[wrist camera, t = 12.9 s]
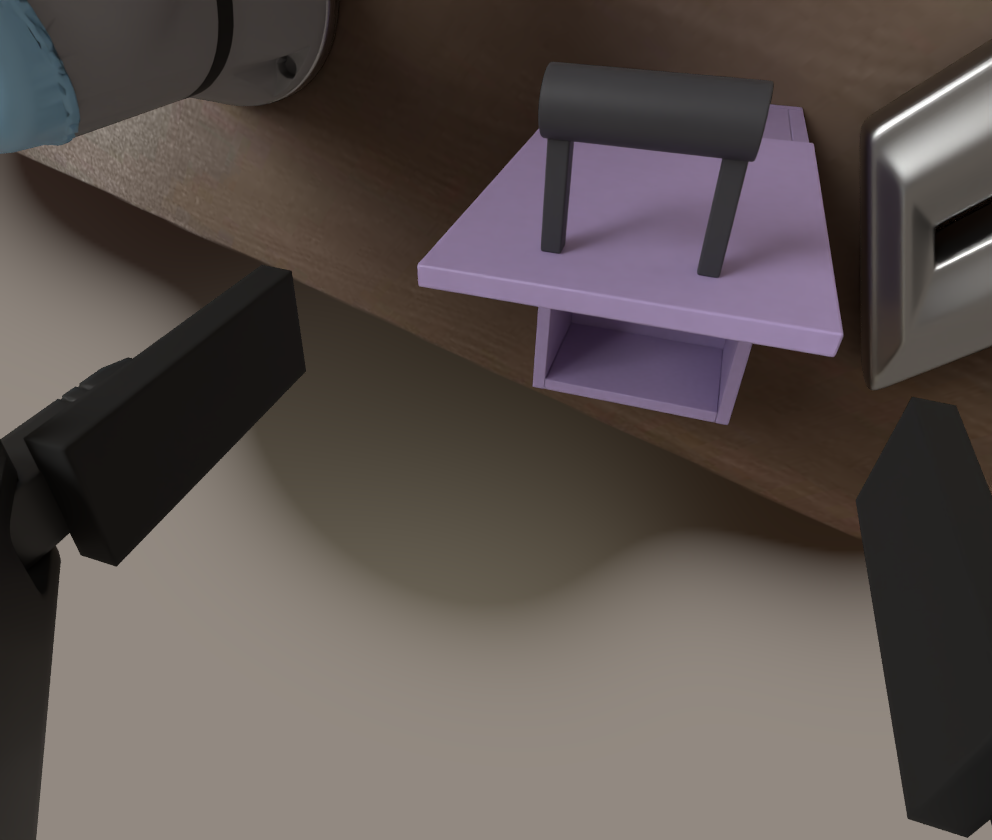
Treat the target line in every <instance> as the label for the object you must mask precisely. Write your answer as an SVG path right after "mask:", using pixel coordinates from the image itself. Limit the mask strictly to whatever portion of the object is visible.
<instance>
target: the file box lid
mask: <svg viewBox="0 0 992 840" xmlns="http://www.w3.org/2000/svg"><path fill="white" fill-rule="evenodd" d="M773 86H774V84H773V82H772V81H767V80H756V79H745V78H733V77H722V76H710V75H699V74H688V73H676V72H665V71H653V70H642V69H631V68H619V67H608V66H596V65H585V64H574V63H562V62H550V63H549V64H548V66H547V68H546V71H545V73H544V77H543V81H542V85H541V91H540V98H539V109H538V123H539V129H538V130H537V131H536V132H535V133H534V135H533V136H532V137H531V138H530V139H529V140H528V141H527V142H526V144H525V145H524V146H523V147H522V148H521V149H520V150H519V151H518V152H517V154H516V155H515V156H514V157H513V158H512V159H511V160H510V161H509V163H508V164H507V165H506V166H505V167H504V168H503V169H502V170H501V172H500V173H499V174H498V175H497V176H496V177H495V178H494V179H493V180H492V182H491V183H490V184H489V185H488V186H487V187H486V188H485V189H484V191H483V192H482V193H481V194H480V195H479V196H478V197H477V198H476V200H475V201H474V202H473V203H472V204H471V205H470V206H469V207H468V209H467V210H466V211H465V212H464V213H463V214H462V215H461V216H460V217H459V219H458V220H457V221H456V222H455V223H454V224H453V225H452V226H451V228H450V229H449V230H448V231H447V232H446V233H445V234H444V235H443V237H442V238H441V239H440V240H439V241H438V242H437V243H436V244H435V246H434V247H433V248H432V249H431V250H430V251H429V252H428V253H427V254H426V256H425V257H424V258H423V259H422V260H421V261H420V262H419V263H418V265H417V269H418V284H419V286H421V287H427V288H432V289H438V290H444V291H450V292H456V293H461V294H467V295H473V296H479V297H485V298H491V299H496V300H502V301H508V302H514V303H520V304H526V305H531V306H537V307H543V308H549V309H555V310H561V311H566V312H572V313H578V314H584V315H590V316H595V317H601V318H607V319H613V320H619V321H625V322H630V323H636V324H642V325H648V326H654V327H660V328H665V329H671V330H677V331H683V332H689V333H695V334H700V335H706V336H712V337H718V338H724V339H729V340H735V341H741V342H747V343H753V344H759V345H764V346H770V347H776V348H782V349H788V350H794V351H799V352H805V353H811V354H817V355H823V356H829V357H834V356H835V355H836V353H837V351H838V348H839V346H840V343H841V341H842V338H843V336H844V335H843V328H842V322H841V316H840V309H839V303H838V296H837V290H836V283H835V277H834V270H833V264H832V258H831V251H830V245H829V238H828V232H827V225H826V219H825V213H824V206H823V200H822V193H821V187H820V180H819V174H818V168H817V161H816V155H815V148H814V144H813V143H806V142H797V141H787V140H778V139H768V138H762V137H763V133H764V129H765V125H766V121H767V117H768V112H769V108H770V103H771V98H772V93H773Z"/></svg>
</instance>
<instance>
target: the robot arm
mask: <svg viewBox="0 0 992 840" xmlns="http://www.w3.org/2000/svg"><path fill="white" fill-rule="evenodd" d="M338 11H339V0H0V154H1V153H13V152H17V151H21V150H25V149H29V148H33V147H37V146H41V145H57V146H58V145H63V144H65V143H68V142H70V141H71V140H72V138H74V137H77V136H80V135H83V134H86V133H89V132H91V131H94V130H97V129H100V128H103V127H106V126H108V125H111V124H114V123H117V122H120V121H123V120H125V119H128V118H131V117H134V116H137V115H140V114H142V113H145V112H148V111H151V110H154V109H157V108H159V107H162V106H165V105H168V104H171V103H174V102H177V101H180V100H182V99H186V98H189V97H190V98H196V99H202V100H207V101H213V102H218V103H224V104H229V105H236V106H259V105H265V104H270V103H272V102H275V101H278V100H281V99H283V98H286V97H288V96H290V95H292V94H294V93H296V92H298V91H299V90H301V89H302V88H304V87H305V86H306V85H307V84H308V83H309V82H310V81H311V80H312V79H313V78H314V77H315V76H316V74H317V73H318V72H319V70H320V69H321V67H322V66H323V64H324V62H325V60H326V58H327V56H328V54H329V51H330V49H331V46H332V43H333V40H334V36H335V32H336V26H337V21H338ZM305 372H306V368H305V361H304V354H303V347H302V340H301V333H300V326H299V319H298V313H297V306H296V298H295V291H294V285H293V277H292V271H290V270H285V269H280V268H275V267H270V266H265V265H261V266H260V267H258V268H257V269H255V270H254V271H253V272H251V273H250V274H249V275H247V276H246V277H244V278H243V279H242V280H240V281H239V282H238V283H236V284H235V285H233V286H232V287H231V288H229V289H228V290H227V291H225V292H224V293H222V294H221V295H220V296H218V297H217V298H215V299H214V300H213V301H211V302H210V303H209V304H207V305H206V306H205V307H203V308H202V309H200V310H199V311H198V312H196V313H195V314H194V315H192V316H191V317H189V318H188V319H187V320H185V321H184V322H182V323H181V324H180V325H178V326H177V327H176V328H174V329H173V330H172V331H170V332H169V333H167V334H166V335H165V336H163V337H162V338H160V339H159V340H158V341H156V342H155V343H154V344H152V345H151V346H149V347H148V348H147V349H145V350H144V351H143V352H141V353H140V354H138V355H137V356H136V357H134V358H133V359H132V358H126V359H123V360H121V361H118V362H116V363H113V364H111V365H108V366H106V367H103V368H101V369H100V370H98V371H97V372H95V373H94V374H92V375H91V376H90V377H88V378H87V379H85V380H84V381H82V382H81V383H80V385H79V387H74V388H73V389H71V390H70V391H68V392H67V393H65V394H64V395H63V396H62V399H61V400H60V399H57V400H56V401H54V402H53V403H51V404H50V405H48V406H47V407H46V408H44V409H43V410H41V411H40V412H39V413H37V414H36V415H34V416H33V417H32V418H30V419H29V420H27V421H26V422H24V423H23V424H22V425H20V426H19V427H17V428H16V429H15V430H13V431H12V432H10V433H9V434H7V435H6V436H5V437H3V438H2V439H0V840H36V834H37V823H38V811H39V800H40V789H41V777H42V766H43V754H44V743H45V732H46V720H47V710H48V698H49V687H50V686H49V685H50V676H51V665H52V653H53V642H54V631H55V619H56V608H57V596H58V585H59V574H60V563H61V560H60V555H59V551H58V549H57V547H56V545H57V544H58V543H59V542H60V541H61V540H62V539H63V538H64V537H65V536H66V535H68V534H69V533H70V534H71V536H72V538H73V540H74V542H75V544H76V546H77V548H78V550H79V552H80V554H81V555H82V556H85V557H88V558H91V559H94V560H98V561H101V562H104V563H107V564H110V565H113V566H118V565H119V563H120V562H121V561H122V560H123V559H124V558H125V557H126V556H127V555H128V554H129V553H130V552H131V551H132V550H133V549H134V548H135V547H136V546H137V545H138V544H139V543H140V542H141V541H142V540H143V539H144V538H145V537H146V536H147V535H148V534H149V533H150V532H151V531H152V529H153V528H154V527H155V526H156V525H157V524H158V523H159V522H160V521H161V520H162V519H163V518H164V517H165V516H166V515H167V514H168V513H169V512H170V511H171V510H172V509H173V508H174V507H175V506H176V505H177V504H178V503H179V502H180V501H181V500H182V499H183V497H184V496H185V495H186V494H187V493H188V492H189V491H190V490H191V489H192V488H193V487H194V486H195V485H196V484H197V483H198V482H199V481H200V480H201V479H202V478H203V477H204V476H205V475H206V474H207V473H208V472H209V471H210V469H212V468H213V467H214V466H215V464H216V463H217V462H218V461H219V460H220V459H221V458H222V457H223V456H224V455H225V454H226V453H227V452H228V451H229V450H230V449H231V448H232V447H233V446H234V445H235V444H236V443H237V442H238V441H239V440H240V439H241V438H242V437H243V436H244V434H245V433H246V432H247V431H248V430H249V429H250V428H251V427H252V426H253V425H254V424H255V423H256V422H257V421H258V420H259V419H260V418H261V417H262V416H263V415H264V414H265V413H266V412H267V411H268V410H269V409H270V408H271V407H272V406H273V405H274V403H275V402H277V400H278V399H279V398H280V397H281V396H282V395H283V394H284V393H285V392H286V391H287V390H288V389H289V388H290V387H291V386H292V385H293V384H294V383H295V382H296V381H297V380H298V379H299V378H300V377H301V376H302V375H303V374H304V373H305ZM856 505H857V511H858V517H859V524H860V530H861V536H862V542H863V548H864V554H865V560H866V566H867V572H868V579H869V584H870V591H871V597H872V603H873V609H874V615H875V622H876V628H877V634H878V640H879V646H880V652H881V658H882V664H883V670H884V677H885V683H886V689H887V695H888V701H889V707H890V713H891V719H892V726H893V732H894V738H895V744H896V750H897V756H898V762H899V768H900V775H901V780H902V787H903V793H904V799H905V805H906V811H907V817H908V819H910V820H913V821H917V822H920V823H923V824H926V825H929V826H933V827H935V828H938V829H942V830H945V831H948V832H951V833H954V834H957V835H960V836H964V837H967V838H968V837H969V836H970V835H972V834H973V833H974V832H975V831H977V830H978V829H979V828H980V827H981V826H983V825H984V824H985V823H986V822H988V821H989V820H991V824H992V495H991V493H990V490H989V488H988V485H987V483H986V480H985V478H984V475H983V473H982V470H981V468H980V465H979V462H978V460H977V457H976V455H975V452H974V450H973V447H972V445H971V442H970V440H969V437H968V435H967V432H966V430H965V427H964V424H963V422H962V419H961V417H960V414H959V412H958V409H957V407H956V406H955V405H950V404H945V403H940V402H935V401H930V400H925V399H920V398H915V397H912V398H911V400H910V401H909V403H908V405H907V407H906V409H905V411H904V412H903V414H902V416H901V418H900V420H899V422H898V423H897V425H896V427H895V429H894V431H893V433H892V434H891V436H890V438H889V440H888V442H887V444H886V445H885V447H884V449H883V451H882V453H881V455H880V456H879V458H878V460H877V462H876V464H875V466H874V468H873V469H872V471H871V473H870V475H869V477H868V479H867V480H866V482H865V484H864V486H863V488H862V490H861V491H860V493H859V495H858V497H857V499H856Z"/></svg>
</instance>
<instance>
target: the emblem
mask: <svg viewBox="0 0 992 840" xmlns="http://www.w3.org/2000/svg"><path fill="white" fill-rule="evenodd" d="M990 197H992V39H991V40H990V41H988V42H986V43H985V44H983V45H982V46H980V47H978V48H977V49H975V50H974V51H972V52H971V53H969V54H967V55H966V56H964V57H963V58H961V59H959V60H958V61H956V62H955V63H953V64H951V65H950V66H948V67H947V68H945V69H943V70H942V71H940V72H939V73H937V74H935V75H934V76H932V77H931V78H929V79H927V80H926V81H924V82H923V83H921V84H919V85H918V86H916V87H915V88H913V89H911V90H910V91H908V92H907V93H905V94H903V95H902V96H900V97H899V98H897V99H896V100H894V101H892V102H891V103H889V104H888V105H886V106H884V107H883V108H881V109H880V110H878V111H877V112H875V113H874V114H872V115H871V116H870V117H869V118H867V119H866V120H865V122H864V123H863V125H862V127H861V132H860V288H861V362H862V371H863V376H864V380H865V383H866V385H867V387H868V388H869V389H870V390H879V389H882V388H885V387H888V386H891V385H894V384H896V383H899V382H901V381H904V380H907V379H909V378H912V377H914V376H917V375H919V374H922V373H925V372H927V371H930V370H932V369H935V368H937V367H940V366H943V365H945V364H948V363H950V362H953V361H955V360H958V359H961V358H963V357H966V356H968V355H971V354H973V353H976V352H979V351H981V350H984V349H986V348H989V347H991V346H992V203H991V204H989V205H987V206H985V207H983V208H981V209H979V210H977V211H975V212H973V213H972V214H970V215H968V216H966V217H964V218H962V219H960V220H958V221H956V222H955V223H953V224H951V225H949V226H947V227H945V228H943V229H941V230H939V231H938V232H936V233H935V231H936V227H937V226H938V225H940V224H941V223H943V222H945V221H947V220H948V219H950V218H952V217H954V216H956V215H958V214H960V213H962V212H964V211H965V210H967V209H969V208H971V207H973V206H975V205H977V204H979V203H981V202H983V201H985V200H986V199H988V198H990Z"/></svg>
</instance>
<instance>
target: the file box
mask: <svg viewBox="0 0 992 840" xmlns="http://www.w3.org/2000/svg"><path fill="white" fill-rule="evenodd" d="M762 138H768V139H778V140H787V141H797V142H806V143H809V139H808V134H807V129H806V124H805V119H804V114H803V109H802V107H792V106H782V105H771V104H770V108H769V112H768V117H767V121H766V125H765V129H764V133H763V137H762ZM752 344H753V343H747V342H741V341H735V340H729V339H724V338H718V337H712V336H706V335H700V334H695V333H689V332H683V331H677V330H671V329H665V328H660V327H654V326H648V325H642V324H636V323H630V322H625V321H619V320H613V319H607V318H601V317H595V316H590V315H584V314H578V313H572V312H566V311H561V310H555V309H549V308H543V307H538V319H537V333H536V347H535V360H534V374H533V387H537V388H542V389H544V388H545V389H549V390H554V391H559V392H564V393H569V394H574V395H579V396H584V397H589V398H594V399H599V400H604V401H609V402H614V403H619V404H624V405H629V406H634V407H639V408H644V409H649V410H654V411H659V412H664V413H670V414H675V415H680V416H685V417H690V418H695V419H700V420H705V421H710V422H716V423H719V424H724V425H728V424H729V421H730V417H731V414H732V411H733V407H734V404H735V401H736V397H737V394H738V391H739V387H740V384H741V381H742V377H743V374H744V371H745V367H746V364H747V361H748V357H749V354H750V351H751V347H752Z"/></svg>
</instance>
